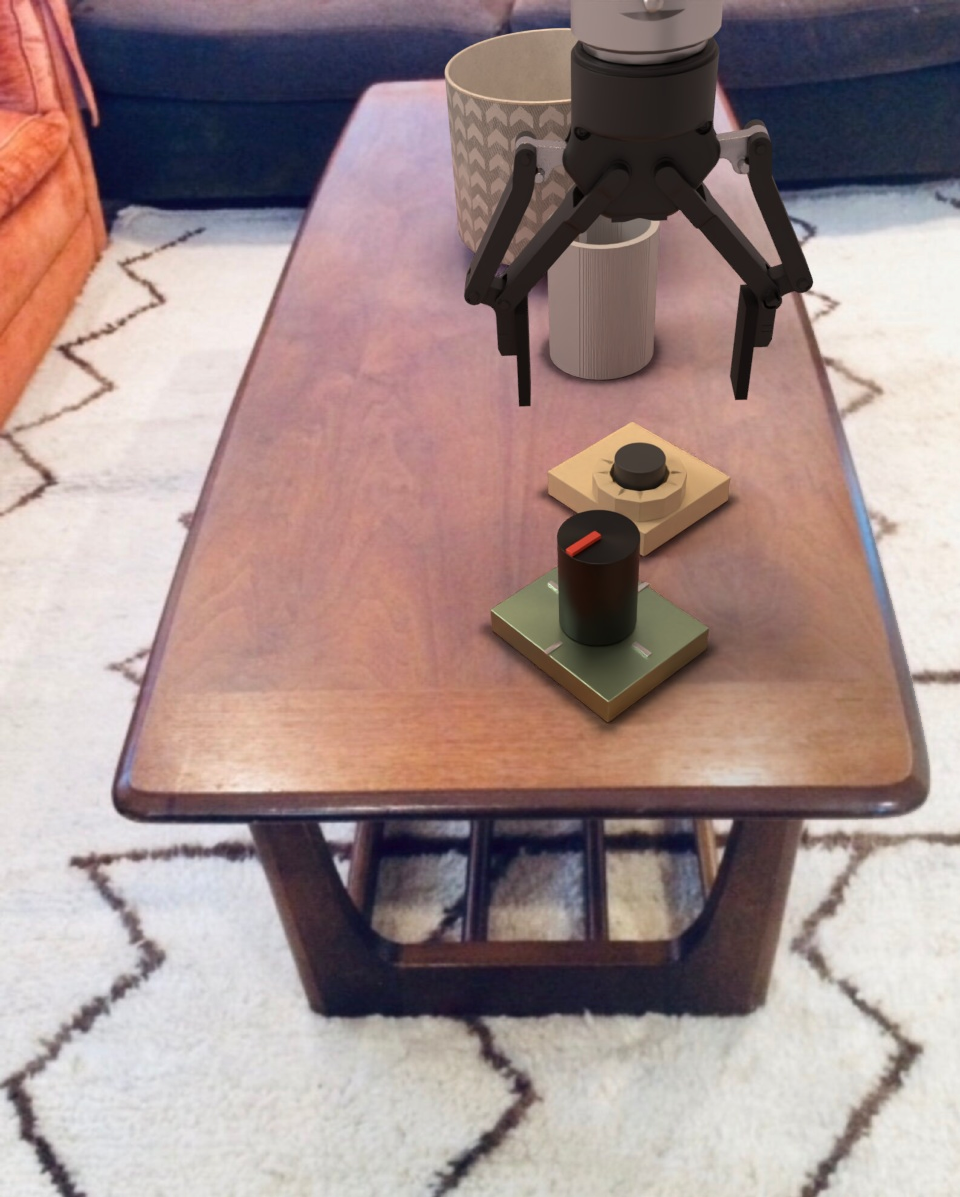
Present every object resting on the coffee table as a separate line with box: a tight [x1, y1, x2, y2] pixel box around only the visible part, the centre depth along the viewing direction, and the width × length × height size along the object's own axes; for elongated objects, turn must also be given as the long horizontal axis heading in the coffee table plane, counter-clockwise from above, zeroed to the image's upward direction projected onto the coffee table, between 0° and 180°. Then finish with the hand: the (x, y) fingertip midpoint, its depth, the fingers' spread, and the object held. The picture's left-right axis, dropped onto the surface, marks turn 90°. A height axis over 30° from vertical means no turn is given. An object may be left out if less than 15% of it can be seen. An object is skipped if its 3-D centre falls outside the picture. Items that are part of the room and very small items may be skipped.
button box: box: [547, 421, 731, 557], centre depth 81 cm, size 10×9×4 cm
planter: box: [444, 27, 579, 266], centre depth 105 cm, size 19×19×18 cm
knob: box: [556, 510, 641, 646], centre depth 68 cm, size 5×5×7 cm
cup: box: [547, 212, 661, 381], centre depth 93 cm, size 9×9×12 cm
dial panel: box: [490, 565, 710, 723], centre depth 72 cm, size 11×9×2 cm
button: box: [614, 442, 666, 491], centre depth 78 cm, size 4×4×2 cm
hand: (630, 391), depth 70 cm, fingers open, 13 cm apart
